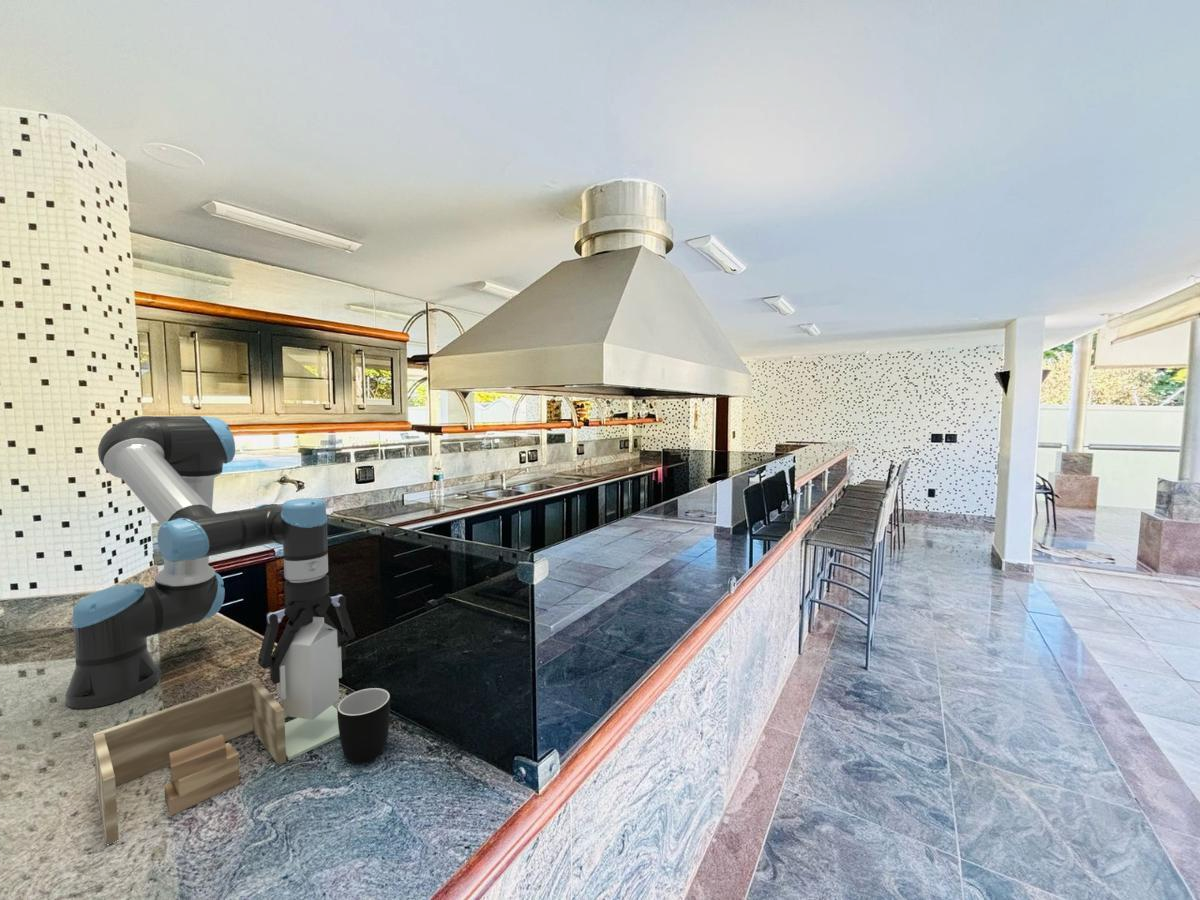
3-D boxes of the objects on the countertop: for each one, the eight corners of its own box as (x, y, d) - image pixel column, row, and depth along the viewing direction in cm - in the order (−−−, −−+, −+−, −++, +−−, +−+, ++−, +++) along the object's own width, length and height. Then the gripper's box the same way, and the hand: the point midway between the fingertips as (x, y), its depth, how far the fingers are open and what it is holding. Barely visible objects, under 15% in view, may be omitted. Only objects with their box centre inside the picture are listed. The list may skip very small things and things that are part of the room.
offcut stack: (164, 799, 80) (162, 755, 80) (232, 769, 87) (230, 728, 87) (171, 817, 76) (168, 771, 76) (241, 783, 84) (239, 741, 83)
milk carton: (312, 720, 93) (309, 625, 92) (281, 716, 95) (278, 621, 93) (339, 700, 100) (336, 610, 99) (310, 696, 102) (307, 608, 100)
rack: (96, 790, 82) (93, 733, 81) (258, 724, 100) (256, 678, 99) (107, 846, 71) (103, 781, 71) (286, 761, 89) (284, 709, 88)
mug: (401, 746, 93) (400, 696, 93) (357, 775, 86) (356, 721, 85) (362, 726, 99) (361, 679, 99) (319, 752, 92) (317, 700, 91)
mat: (267, 733, 97) (267, 730, 97) (331, 706, 106) (331, 703, 106) (288, 760, 89) (288, 757, 89) (355, 729, 98) (355, 726, 98)
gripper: (245, 596, 85) (250, 719, 86) (371, 567, 102) (374, 670, 103) (233, 587, 90) (238, 703, 91) (355, 561, 107) (358, 659, 108)
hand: (310, 685), depth 97 cm, fingers closed on milk carton, 9 cm apart
